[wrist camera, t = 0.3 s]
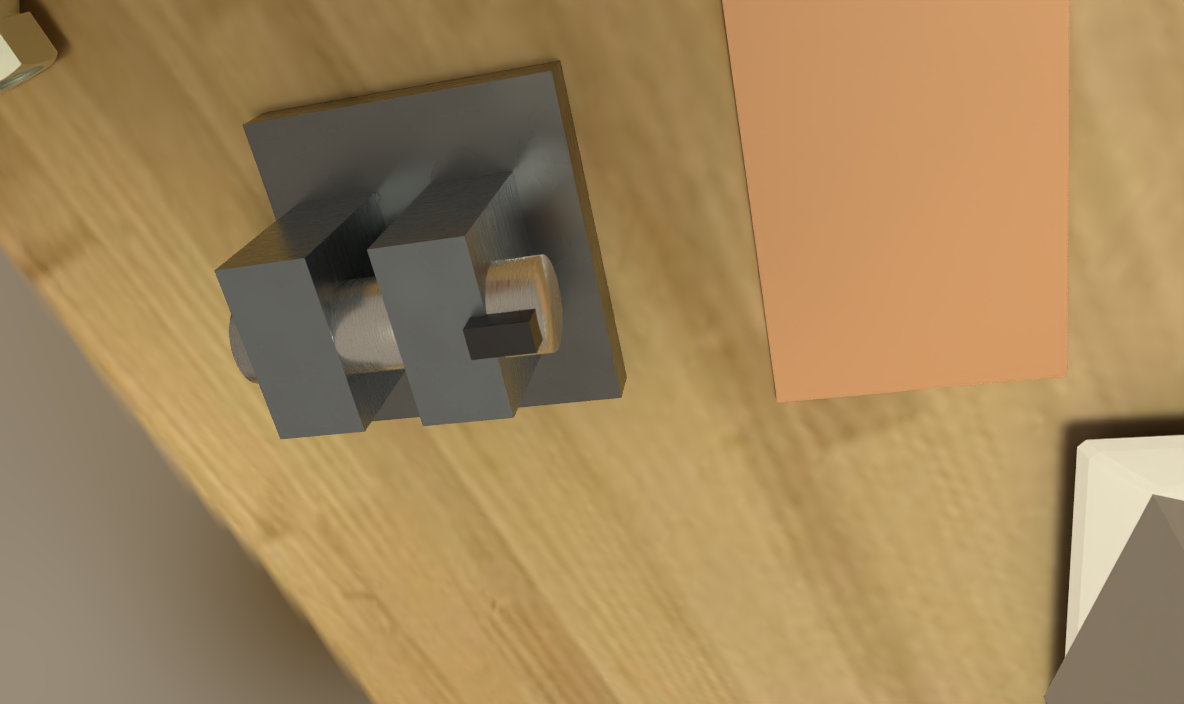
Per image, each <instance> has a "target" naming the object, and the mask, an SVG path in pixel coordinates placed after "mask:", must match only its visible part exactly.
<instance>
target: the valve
mask: <svg viewBox="0 0 1184 704" xmlns="http://www.w3.org/2000/svg"><path fill="white" fill-rule="evenodd" d="M57 54H58V52H57V51H56V49H55V48H54V46H53V45H52V43H51V42H50V40H49V39H48V37H47V36H46V35H45V33H44V32H43V30H42V29H41V27H40V26H39V24H38V23H37V21H36V20H35V19H34V17H33V16H32V14H31V13H30V11H29V12H25V13H22V14H20V5H19V0H0V94H1V93H3V92H5V91H7V90H9V89H11V88H13V87H15V86H17V85H19V84H21V83H23V82H25V81H27V80H28V79H30V78H32V77H34V76H35V75H37V74H39V73H40V72H42V71H43V70H45V69H46V68H48V67H49V66H51V65H52V64H53V63H54V61H55V60H56V57H57Z"/></svg>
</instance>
